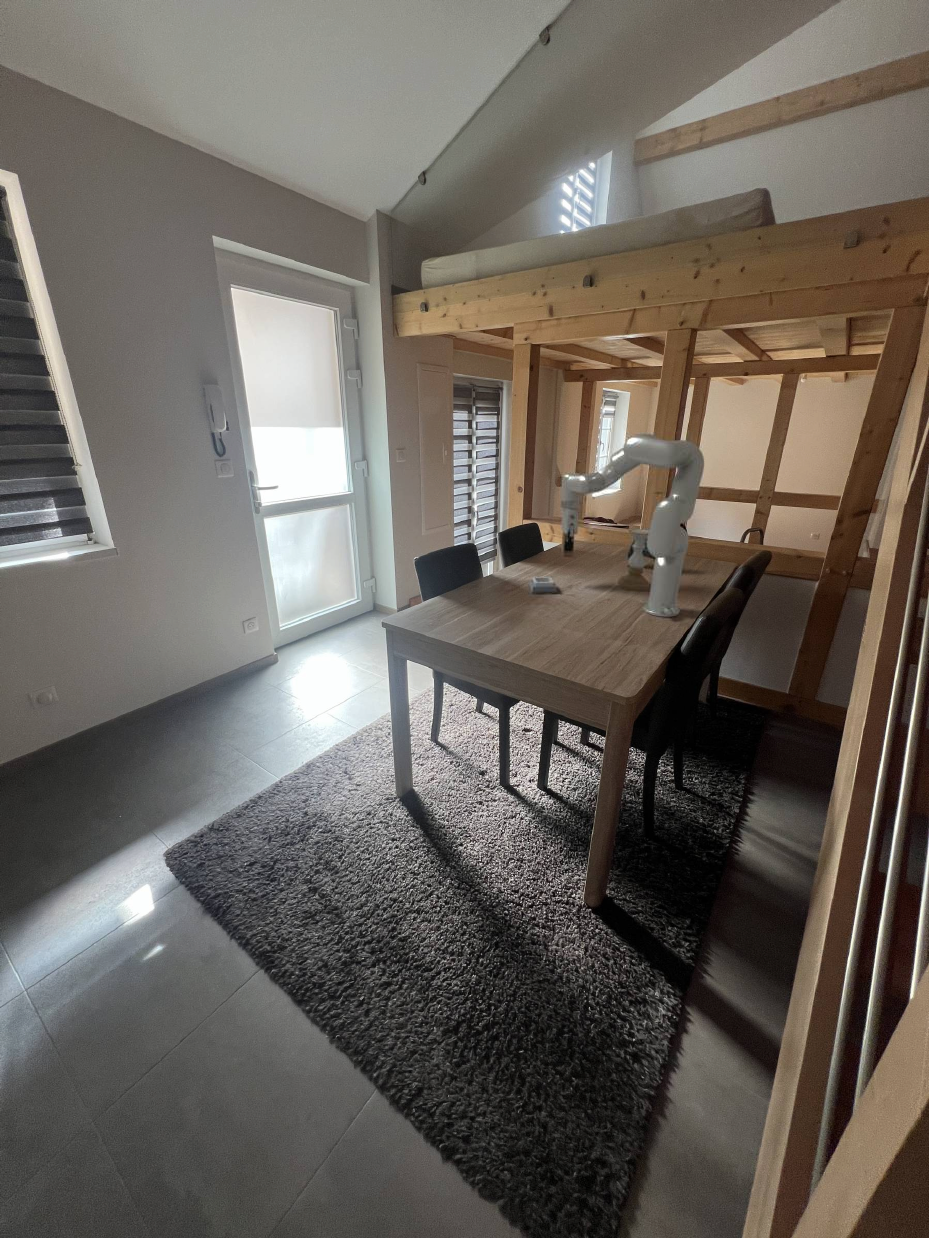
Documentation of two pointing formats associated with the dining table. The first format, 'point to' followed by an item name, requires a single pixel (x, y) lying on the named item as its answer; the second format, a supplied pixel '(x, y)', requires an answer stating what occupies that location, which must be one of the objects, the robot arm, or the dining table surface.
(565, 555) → the brown tall boxy piece
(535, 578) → the candle tray
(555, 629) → the dining table surface
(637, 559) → the candle holder
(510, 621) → the dining table surface
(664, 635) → the dining table surface
